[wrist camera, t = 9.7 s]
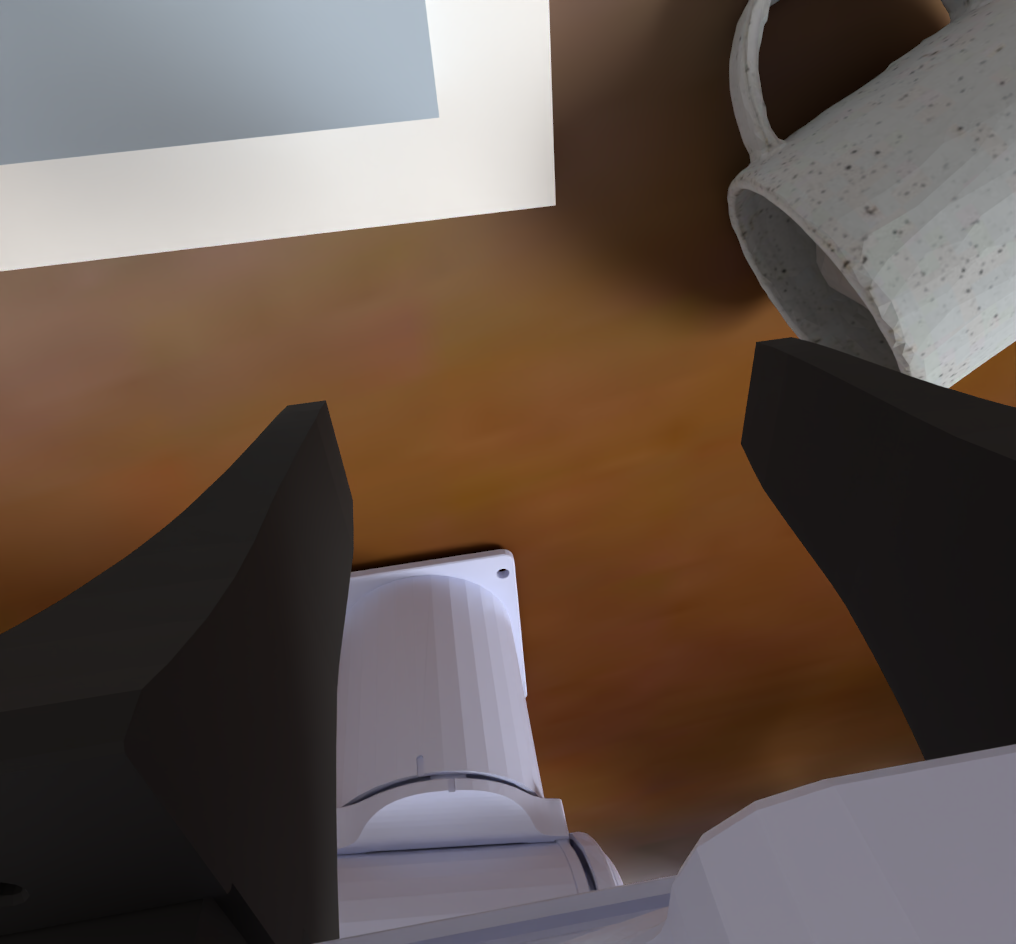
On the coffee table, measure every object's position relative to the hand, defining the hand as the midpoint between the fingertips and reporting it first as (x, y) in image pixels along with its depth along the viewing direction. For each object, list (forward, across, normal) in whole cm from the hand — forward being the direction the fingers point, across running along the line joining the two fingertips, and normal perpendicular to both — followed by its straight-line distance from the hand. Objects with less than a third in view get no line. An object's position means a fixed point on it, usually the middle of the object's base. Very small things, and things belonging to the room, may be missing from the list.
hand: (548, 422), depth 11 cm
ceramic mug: (+11, -11, -1) cm, 15 cm away
